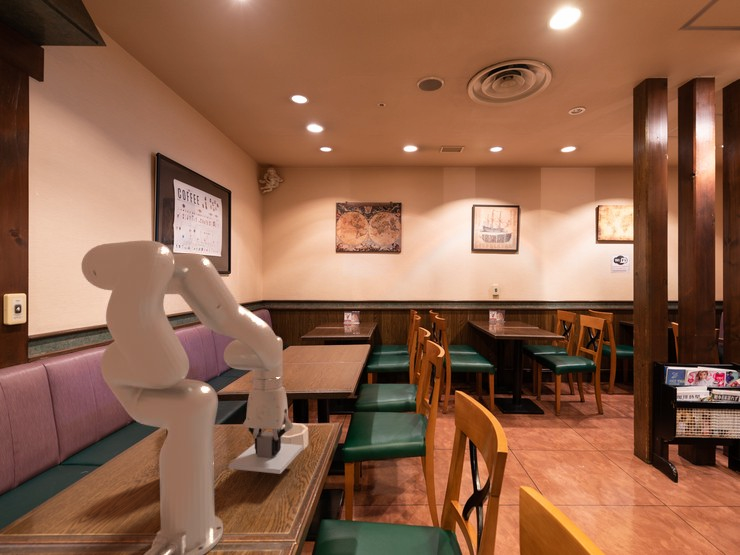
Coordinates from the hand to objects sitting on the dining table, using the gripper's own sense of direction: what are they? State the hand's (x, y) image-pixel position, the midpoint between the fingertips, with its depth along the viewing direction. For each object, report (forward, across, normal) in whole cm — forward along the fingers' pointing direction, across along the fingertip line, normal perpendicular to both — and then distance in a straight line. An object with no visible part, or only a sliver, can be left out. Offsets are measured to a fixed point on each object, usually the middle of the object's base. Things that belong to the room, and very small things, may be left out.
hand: (267, 452), depth 94 cm
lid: (+2, 0, 0) cm, 2 cm away
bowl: (+5, -1, +16) cm, 17 cm away
